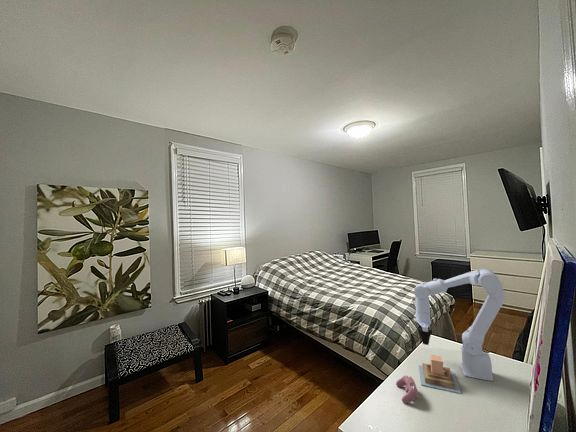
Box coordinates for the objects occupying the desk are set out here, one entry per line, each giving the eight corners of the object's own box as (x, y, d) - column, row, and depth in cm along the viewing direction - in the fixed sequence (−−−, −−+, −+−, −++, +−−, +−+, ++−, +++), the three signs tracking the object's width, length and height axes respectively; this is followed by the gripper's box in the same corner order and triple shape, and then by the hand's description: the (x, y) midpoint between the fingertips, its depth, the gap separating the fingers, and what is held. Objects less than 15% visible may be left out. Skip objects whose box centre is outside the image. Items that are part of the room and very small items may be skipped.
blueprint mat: (453, 372, 100) (453, 371, 100) (461, 393, 88) (460, 392, 88) (418, 365, 105) (418, 365, 105) (421, 385, 93) (421, 384, 93)
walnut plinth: (449, 372, 99) (449, 366, 99) (455, 389, 90) (454, 381, 90) (422, 367, 103) (422, 361, 103) (425, 382, 94) (424, 375, 94)
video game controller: (414, 409, 84) (422, 392, 84) (401, 402, 85) (409, 385, 85) (405, 389, 94) (413, 374, 93) (394, 383, 95) (401, 368, 94)
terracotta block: (442, 370, 98) (441, 356, 98) (443, 376, 94) (442, 361, 94) (431, 368, 99) (430, 354, 99) (432, 374, 96) (431, 359, 96)
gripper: (412, 304, 117) (414, 331, 117) (414, 315, 104) (416, 346, 104) (428, 305, 114) (430, 333, 114) (432, 317, 101) (434, 349, 101)
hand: (424, 340), depth 109 cm, fingers open, 7 cm apart
